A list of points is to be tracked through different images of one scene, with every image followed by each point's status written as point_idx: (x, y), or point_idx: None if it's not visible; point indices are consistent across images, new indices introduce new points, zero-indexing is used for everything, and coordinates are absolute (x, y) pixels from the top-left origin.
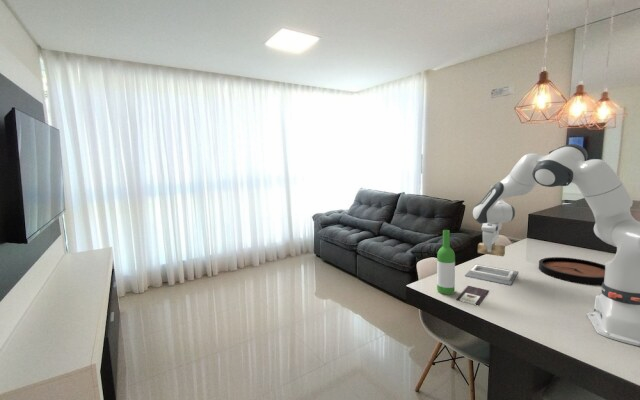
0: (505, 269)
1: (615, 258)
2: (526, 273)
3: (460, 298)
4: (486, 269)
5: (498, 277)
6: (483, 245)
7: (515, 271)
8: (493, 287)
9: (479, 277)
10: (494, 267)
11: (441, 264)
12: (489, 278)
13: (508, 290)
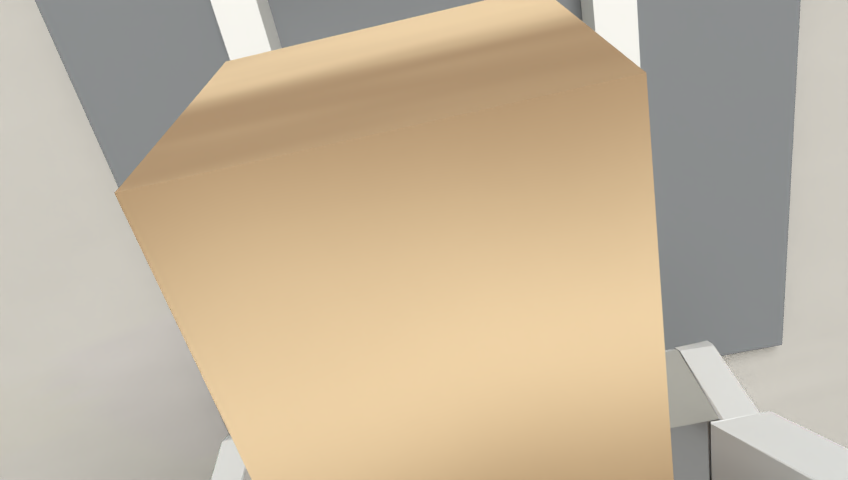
0: (776, 215)
1: None
2: (783, 408)
3: None
4: (582, 15)
5: None
6: (230, 421)
7: (762, 326)
8: (6, 353)
9: (128, 104)
10: (787, 60)
11: None
12: None
13: (84, 469)
